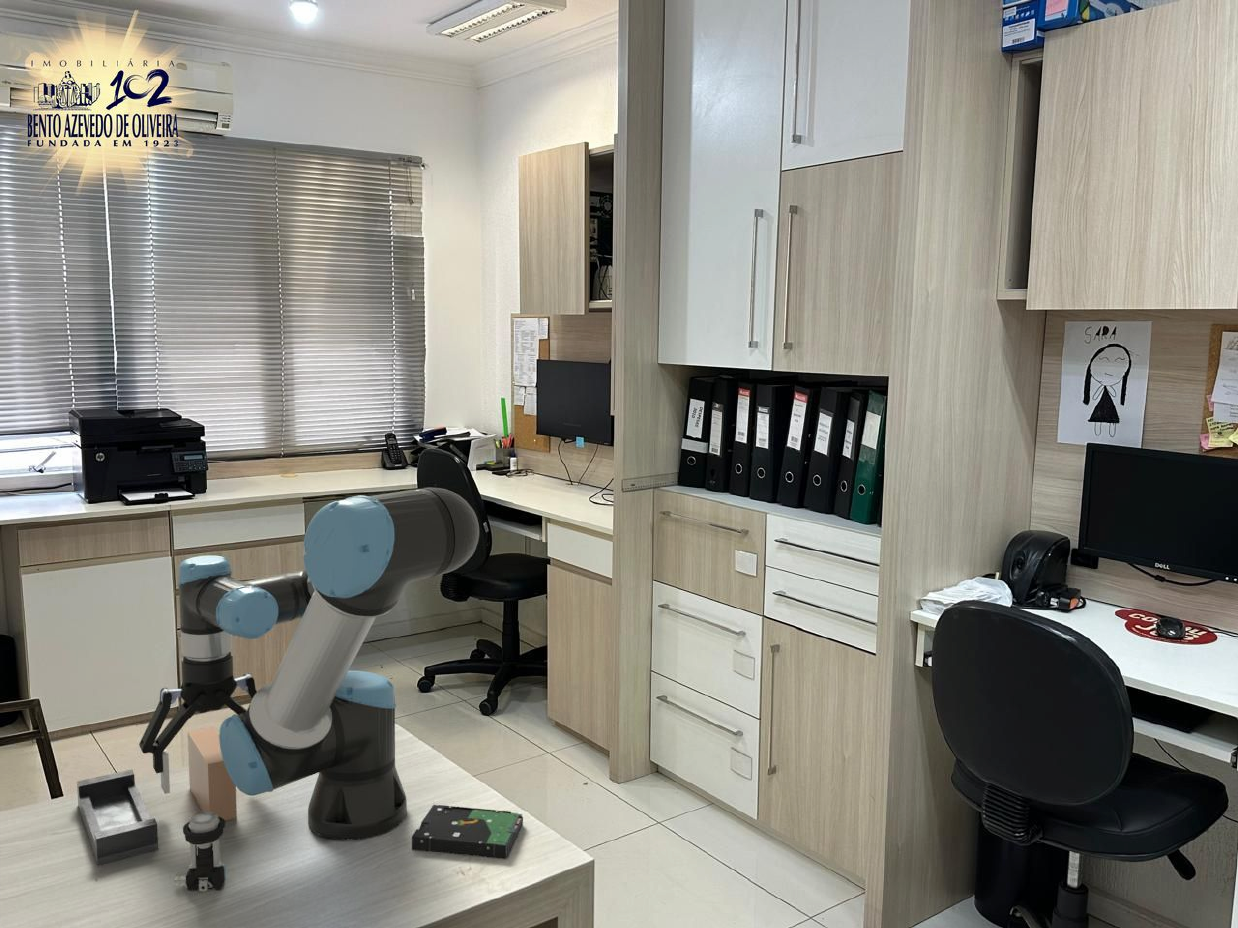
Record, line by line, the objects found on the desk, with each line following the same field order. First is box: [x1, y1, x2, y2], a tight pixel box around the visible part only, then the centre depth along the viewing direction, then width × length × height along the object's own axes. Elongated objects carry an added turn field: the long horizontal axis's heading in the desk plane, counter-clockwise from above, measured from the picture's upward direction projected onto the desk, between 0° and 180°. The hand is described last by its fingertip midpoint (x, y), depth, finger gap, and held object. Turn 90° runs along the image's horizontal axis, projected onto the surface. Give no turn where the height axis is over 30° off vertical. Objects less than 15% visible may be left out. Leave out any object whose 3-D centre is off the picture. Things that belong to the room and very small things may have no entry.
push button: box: [174, 812, 227, 893], centre depth 134 cm, size 7×5×10 cm
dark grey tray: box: [76, 769, 159, 866], centre depth 150 cm, size 21×8×4 cm, turn 35°
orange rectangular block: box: [187, 726, 238, 822], centre depth 158 cm, size 14×4×10 cm, turn 35°
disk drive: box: [411, 804, 524, 860], centre depth 150 cm, size 10×3×15 cm
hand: (211, 779), depth 158 cm, fingers open, 13 cm apart
